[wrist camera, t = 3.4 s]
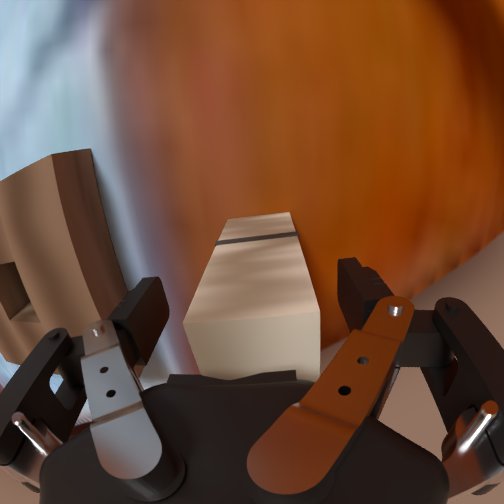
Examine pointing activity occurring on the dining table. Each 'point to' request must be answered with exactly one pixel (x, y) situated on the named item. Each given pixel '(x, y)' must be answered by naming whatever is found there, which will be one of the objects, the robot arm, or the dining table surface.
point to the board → (54, 254)
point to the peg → (255, 304)
